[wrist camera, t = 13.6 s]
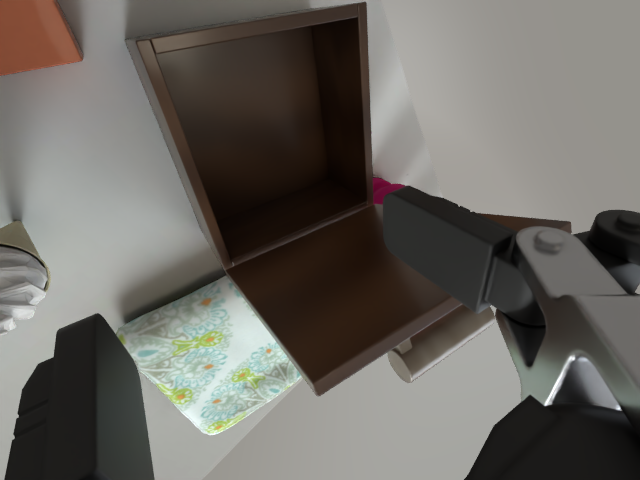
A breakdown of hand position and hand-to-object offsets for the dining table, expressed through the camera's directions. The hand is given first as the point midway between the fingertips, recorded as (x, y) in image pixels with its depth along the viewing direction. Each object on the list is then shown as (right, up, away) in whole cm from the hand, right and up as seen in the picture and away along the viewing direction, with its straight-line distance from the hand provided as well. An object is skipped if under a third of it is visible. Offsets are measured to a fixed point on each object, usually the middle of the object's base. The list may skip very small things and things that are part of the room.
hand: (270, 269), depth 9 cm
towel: (-10, -11, +33) cm, 36 cm away
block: (-17, +14, +12) cm, 25 cm away
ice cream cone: (-22, +2, +16) cm, 27 cm away
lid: (+4, 0, +13) cm, 14 cm away
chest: (-5, +11, +22) cm, 25 cm away
